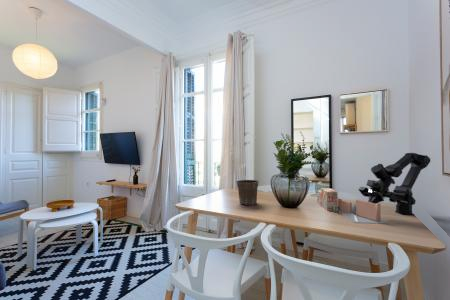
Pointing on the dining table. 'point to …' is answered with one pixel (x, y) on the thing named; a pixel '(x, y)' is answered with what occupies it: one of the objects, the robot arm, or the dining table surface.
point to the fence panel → (367, 210)
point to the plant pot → (247, 191)
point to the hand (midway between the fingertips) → (368, 205)
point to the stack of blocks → (327, 199)
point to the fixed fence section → (344, 206)
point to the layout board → (358, 218)
